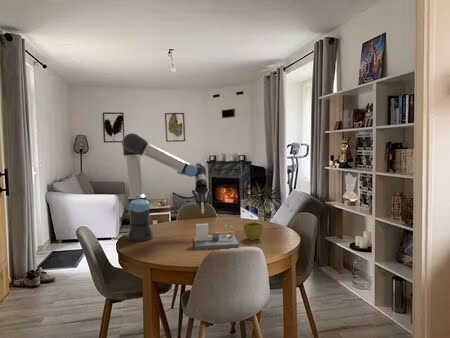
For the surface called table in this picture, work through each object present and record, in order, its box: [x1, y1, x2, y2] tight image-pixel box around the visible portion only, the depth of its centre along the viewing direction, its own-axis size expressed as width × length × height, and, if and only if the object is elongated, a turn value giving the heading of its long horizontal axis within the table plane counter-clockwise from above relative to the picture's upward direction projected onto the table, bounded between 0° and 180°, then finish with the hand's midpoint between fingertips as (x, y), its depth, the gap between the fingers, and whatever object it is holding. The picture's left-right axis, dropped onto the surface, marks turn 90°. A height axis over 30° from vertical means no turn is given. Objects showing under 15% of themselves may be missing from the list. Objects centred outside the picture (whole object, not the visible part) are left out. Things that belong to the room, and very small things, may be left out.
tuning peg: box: [195, 223, 236, 240], centre depth 205 cm, size 22×4×9 cm, turn 96°
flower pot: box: [242, 221, 263, 241], centre depth 215 cm, size 9×9×9 cm
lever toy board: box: [193, 224, 240, 250], centre depth 206 cm, size 24×22×8 cm
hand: (202, 212), depth 222 cm, fingers closed
